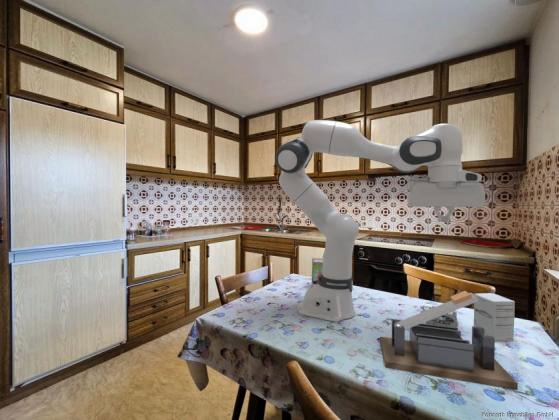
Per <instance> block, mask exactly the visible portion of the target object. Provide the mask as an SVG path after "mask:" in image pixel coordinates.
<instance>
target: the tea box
mask: <svg viewBox="0 0 559 420" xmlns="http://www.w3.org/2000/svg"><path fill="white" fill-rule="evenodd" d="M311 260H312V261H311V288H312V287H314V286H315V285H317V284H318V282H317V279H318V277H317V276H318V274H319V273H322V274H323V257H321V258H320V257H319V258H317V257H316V258H315V257H312V259H311Z"/></svg>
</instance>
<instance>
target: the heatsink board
mask: <svg viewBox="0 0 559 420" xmlns="http://www.w3.org/2000/svg"><path fill="white" fill-rule="evenodd" d="M399 321H402V320H401V319H396V318H391V337H386V336H379V345H380V349H381V352H382V358H383V363H384V367H385V368H389V369H394V370H399V371H405V372H409V373H410V372H411V373H416V374H423V375H428V376H429V375H430V376H435V377H439V378H440V377H442V378H448V379H453V380H457V381H458V380H459V381H465V382H469V383H470V382H471V383H475V384H476V383H477V384H482V385H486V386H495V387H499V388H507V389H512V390H517V391H518V390H519V389H518V387H519V384H518V382H517V381H516V379H514V378H513V377H512V375H511V374H510V373H509V372H508V371H507V370H506V369H505V368H504V367H503V366H502V365H501V364H500V363H499V362H498V361H497V360H496V358H495V356H496V354H495V353H496V352H495V349H496V347H495V345H496V343H495V342H496V341H495V338H494V337H493V336H485V329H484V328H483V327H474V325H472V327H471V342H470V340H468V339H464V338H462V331H461V330H459V327H458V326H457V327H448V326H440V325H431V324H426V323H421V324H419V325H416V326H414V327H411V328H409V340H408V339H406V338H405V337H406V333H405V332H406V330H405V328H404V327H398V326H395V327H394V323H395V322H399Z"/></svg>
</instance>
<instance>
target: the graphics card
mask: <svg viewBox="0 0 559 420" xmlns="http://www.w3.org/2000/svg"><path fill="white" fill-rule="evenodd" d="M419 307H420V308H419V309H421V310H420V313H421V312H424V311H426V310H429V309H431V308H434V306H426V305H421V306H419ZM457 313H458V312H457V310H454V311H452V312H449V313H447V314H444V315H442V316H439V317H437V318H434V319H431V320H429V321H426V322H425V324H431V325H440V326H448V327H457V328H458V327H459V320H458V318H457V315H458V314H457Z"/></svg>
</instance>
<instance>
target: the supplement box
mask: <svg viewBox="0 0 559 420" xmlns="http://www.w3.org/2000/svg"><path fill="white" fill-rule="evenodd" d="M474 295H475V296H477V298H478V299H479V301H478V302H475V303H473V326H474V327H483V328H484V329H485V336H493V337H494V338H495V342H508V341H509V342H511V341H514V338H515V337H514V335H515V334H514V333H515V307H516V306H515V303H516V302H515V300H512V299H509V298H507V297H504V296H501V295H499V294H496V293H493V292H487V293H486V292H483V293H474Z"/></svg>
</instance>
